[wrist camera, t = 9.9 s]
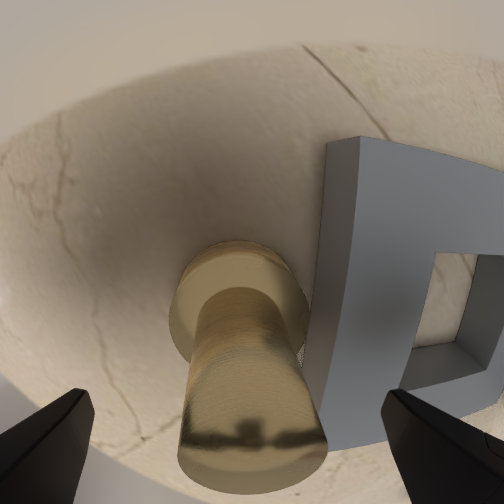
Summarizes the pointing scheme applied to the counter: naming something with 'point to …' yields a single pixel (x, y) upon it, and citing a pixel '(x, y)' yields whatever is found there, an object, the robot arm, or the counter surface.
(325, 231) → the housing
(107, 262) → the counter surface
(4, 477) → the robot arm
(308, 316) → the stepped shaft
